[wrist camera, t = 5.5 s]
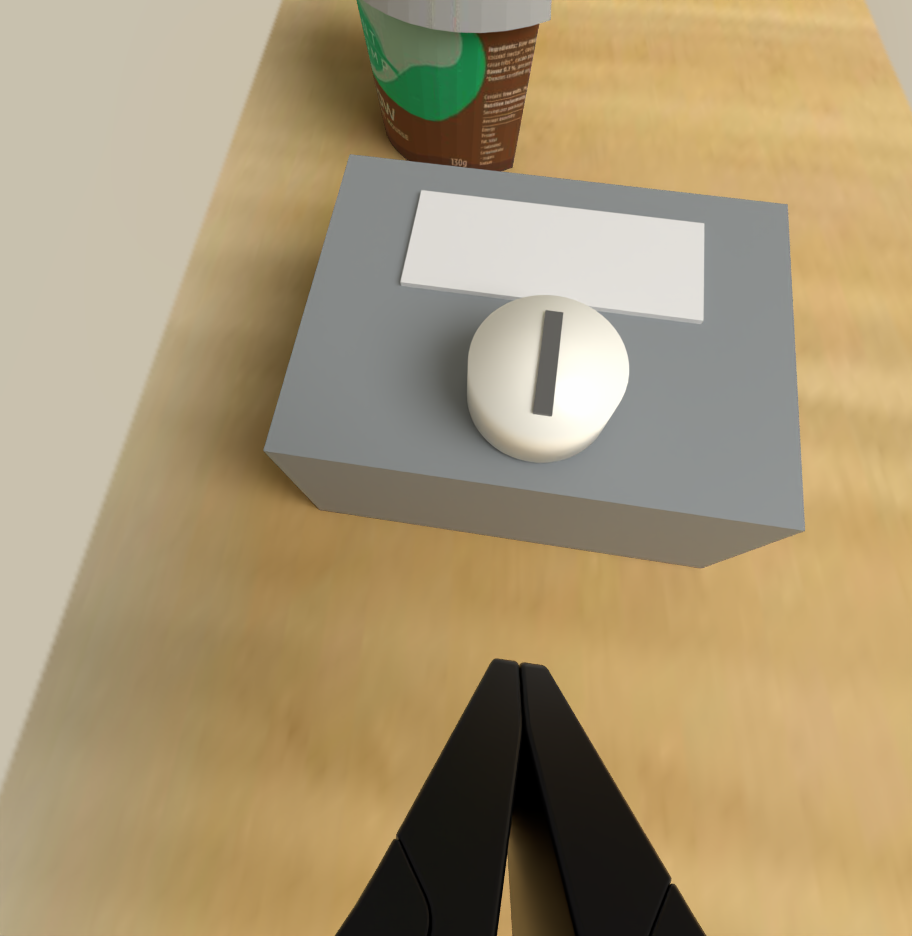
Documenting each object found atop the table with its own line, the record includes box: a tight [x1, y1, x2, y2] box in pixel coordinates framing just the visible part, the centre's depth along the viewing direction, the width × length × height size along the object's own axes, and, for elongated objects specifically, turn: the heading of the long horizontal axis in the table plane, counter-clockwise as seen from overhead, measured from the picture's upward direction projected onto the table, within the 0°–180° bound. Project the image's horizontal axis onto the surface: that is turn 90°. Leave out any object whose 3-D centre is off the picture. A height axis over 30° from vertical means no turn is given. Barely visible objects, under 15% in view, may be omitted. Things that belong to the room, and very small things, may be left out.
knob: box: [467, 295, 629, 463], centre depth 18 cm, size 4×4×6 cm
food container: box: [357, 0, 551, 172], centre depth 25 cm, size 12×6×10 cm, turn 28°
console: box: [263, 154, 805, 568], centre depth 21 cm, size 12×16×7 cm
